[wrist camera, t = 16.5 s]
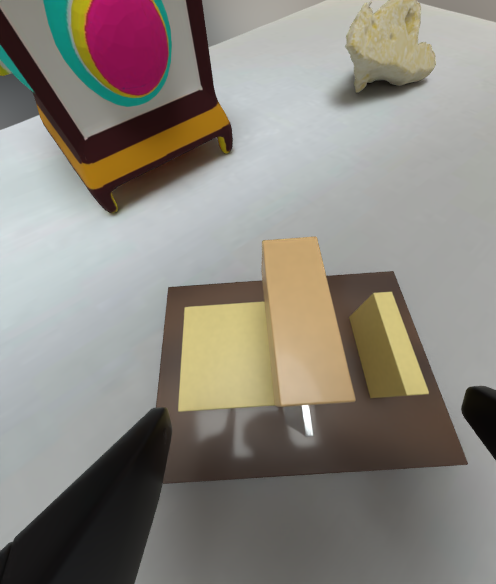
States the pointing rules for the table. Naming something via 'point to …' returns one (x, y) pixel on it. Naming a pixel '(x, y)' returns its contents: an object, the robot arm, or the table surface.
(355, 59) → the cream rough rock
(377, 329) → the butter slice
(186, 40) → the decorative lantern
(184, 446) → the board
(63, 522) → the robot arm
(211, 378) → the butter block
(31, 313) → the table surface
